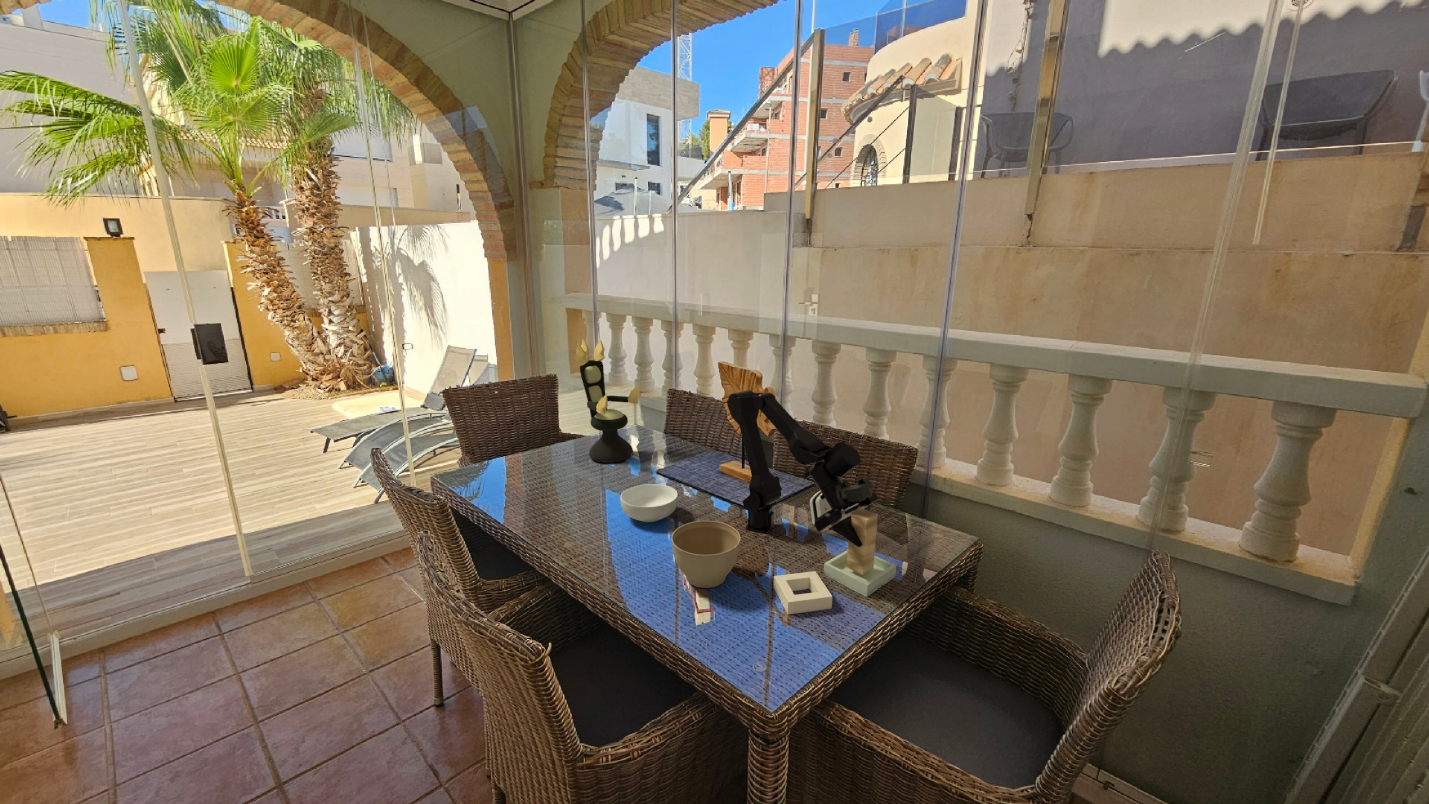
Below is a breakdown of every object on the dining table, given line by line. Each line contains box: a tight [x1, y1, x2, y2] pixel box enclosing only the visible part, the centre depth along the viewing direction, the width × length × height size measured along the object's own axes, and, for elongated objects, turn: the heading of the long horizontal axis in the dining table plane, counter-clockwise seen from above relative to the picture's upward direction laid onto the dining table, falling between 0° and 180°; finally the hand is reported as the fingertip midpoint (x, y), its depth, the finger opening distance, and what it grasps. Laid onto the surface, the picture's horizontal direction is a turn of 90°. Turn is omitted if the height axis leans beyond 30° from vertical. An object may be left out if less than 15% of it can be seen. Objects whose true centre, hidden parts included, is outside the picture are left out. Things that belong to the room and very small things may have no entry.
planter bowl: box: [671, 520, 741, 589], centre depth 128 cm, size 16×16×11 cm
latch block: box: [773, 570, 833, 615], centre depth 121 cm, size 10×10×3 cm
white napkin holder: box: [809, 490, 851, 531], centre depth 159 cm, size 17×5×10 cm, turn 130°
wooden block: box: [846, 508, 879, 575], centre depth 128 cm, size 4×4×14 cm
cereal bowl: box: [619, 483, 679, 523], centre depth 160 cm, size 17×17×7 cm
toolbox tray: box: [823, 549, 897, 598], centre depth 130 cm, size 12×12×3 cm
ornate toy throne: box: [574, 338, 642, 464], centre depth 204 cm, size 19×22×45 cm
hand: (866, 543), depth 127 cm, fingers closed on wooden block, 4 cm apart
